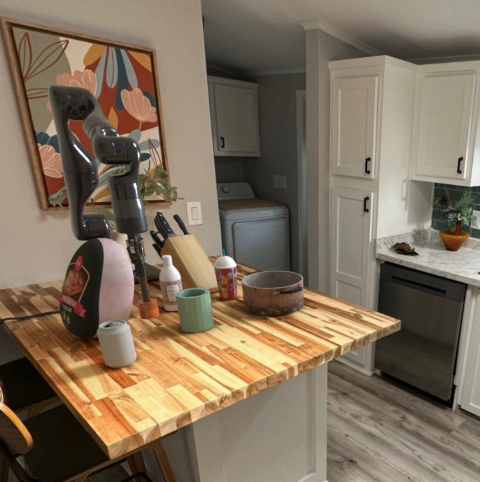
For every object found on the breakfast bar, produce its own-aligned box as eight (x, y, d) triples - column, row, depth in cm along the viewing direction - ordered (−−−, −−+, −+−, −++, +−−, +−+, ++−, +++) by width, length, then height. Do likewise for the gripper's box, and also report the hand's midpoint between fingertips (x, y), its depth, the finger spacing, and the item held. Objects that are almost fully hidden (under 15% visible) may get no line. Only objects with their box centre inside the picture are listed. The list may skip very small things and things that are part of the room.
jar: (180, 334, 131) (174, 299, 127) (182, 322, 140) (176, 289, 136) (214, 330, 135) (209, 296, 131) (213, 319, 144) (209, 286, 139)
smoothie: (244, 296, 166) (239, 248, 159) (230, 302, 159) (224, 252, 152) (227, 293, 169) (221, 245, 161) (213, 299, 161) (206, 250, 154)
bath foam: (166, 313, 147) (156, 259, 140) (163, 306, 153) (154, 254, 145) (187, 309, 151) (178, 257, 143) (184, 303, 156) (175, 252, 149)
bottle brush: (139, 320, 120) (127, 261, 114) (141, 314, 125) (129, 256, 118) (158, 318, 122) (147, 259, 116) (160, 312, 126) (149, 255, 120)
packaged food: (55, 333, 129) (28, 239, 118) (122, 315, 144) (103, 230, 133) (86, 353, 118) (59, 251, 107) (154, 331, 133) (137, 240, 122)
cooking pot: (228, 301, 160) (225, 275, 156) (278, 289, 175) (276, 265, 171) (270, 324, 141) (267, 295, 137) (321, 309, 156) (320, 282, 152)
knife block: (180, 275, 189) (169, 207, 178) (225, 291, 170) (216, 217, 159) (155, 280, 181) (142, 209, 169) (200, 298, 162) (188, 220, 150)
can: (114, 356, 117) (105, 317, 112) (142, 356, 117) (134, 317, 113) (99, 369, 110) (89, 329, 105) (129, 369, 110) (119, 328, 106)
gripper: (118, 211, 117) (130, 269, 123) (108, 219, 105) (122, 283, 111) (148, 210, 119) (158, 267, 126) (142, 218, 108) (153, 280, 114)
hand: (141, 274), depth 118 cm, fingers closed on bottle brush
